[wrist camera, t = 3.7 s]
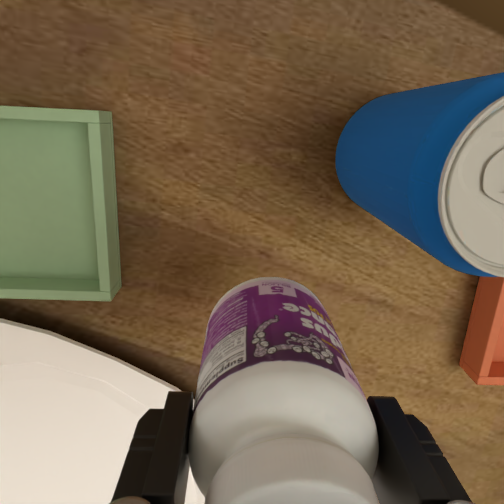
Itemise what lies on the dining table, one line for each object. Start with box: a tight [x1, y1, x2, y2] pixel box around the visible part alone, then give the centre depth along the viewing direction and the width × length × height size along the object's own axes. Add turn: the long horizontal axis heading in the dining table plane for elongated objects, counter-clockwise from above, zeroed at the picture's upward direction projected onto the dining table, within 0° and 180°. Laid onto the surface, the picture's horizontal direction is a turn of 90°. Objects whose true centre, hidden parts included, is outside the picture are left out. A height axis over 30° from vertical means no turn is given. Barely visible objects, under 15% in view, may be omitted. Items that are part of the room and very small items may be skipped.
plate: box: [0, 318, 205, 504], centre depth 28 cm, size 24×24×3 cm
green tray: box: [0, 106, 122, 301], centre depth 22 cm, size 10×10×2 cm
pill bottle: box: [188, 277, 379, 504], centre depth 13 cm, size 5×5×10 cm
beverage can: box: [336, 72, 504, 277], centre depth 17 cm, size 6×6×12 cm
